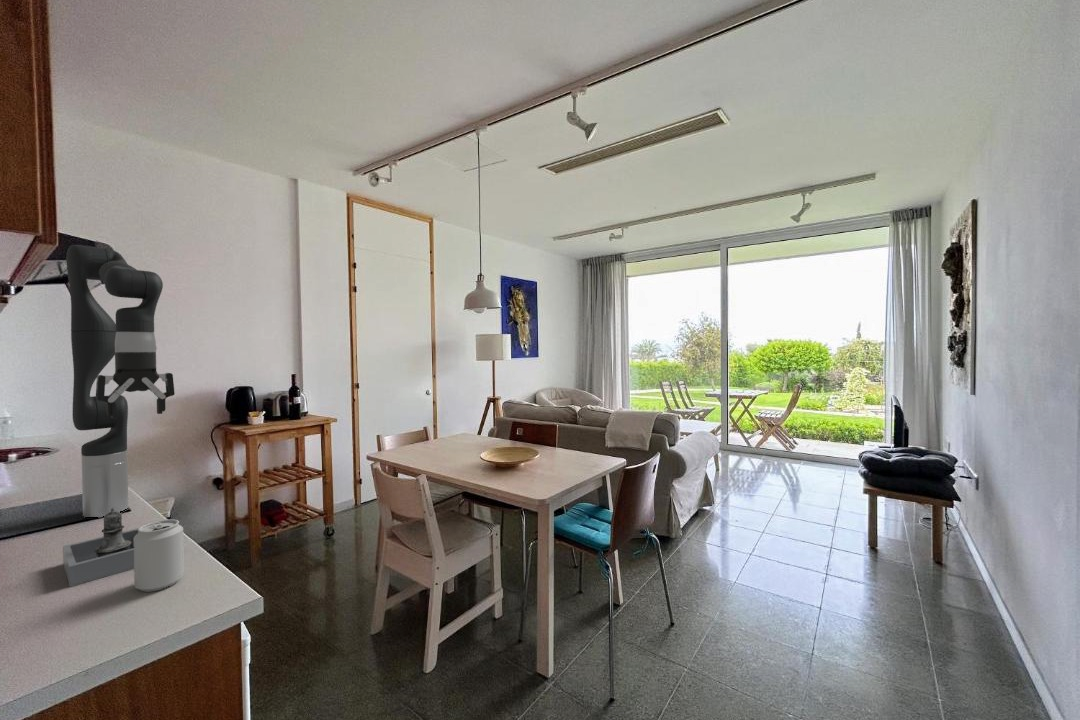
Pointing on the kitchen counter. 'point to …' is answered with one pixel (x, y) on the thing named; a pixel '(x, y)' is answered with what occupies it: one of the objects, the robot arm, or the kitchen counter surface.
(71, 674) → the kitchen counter surface
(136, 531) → the bin
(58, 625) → the kitchen counter surface
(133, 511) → the kitchen counter surface
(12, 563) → the kitchen counter surface
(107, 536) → the chess piece
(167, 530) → the can
